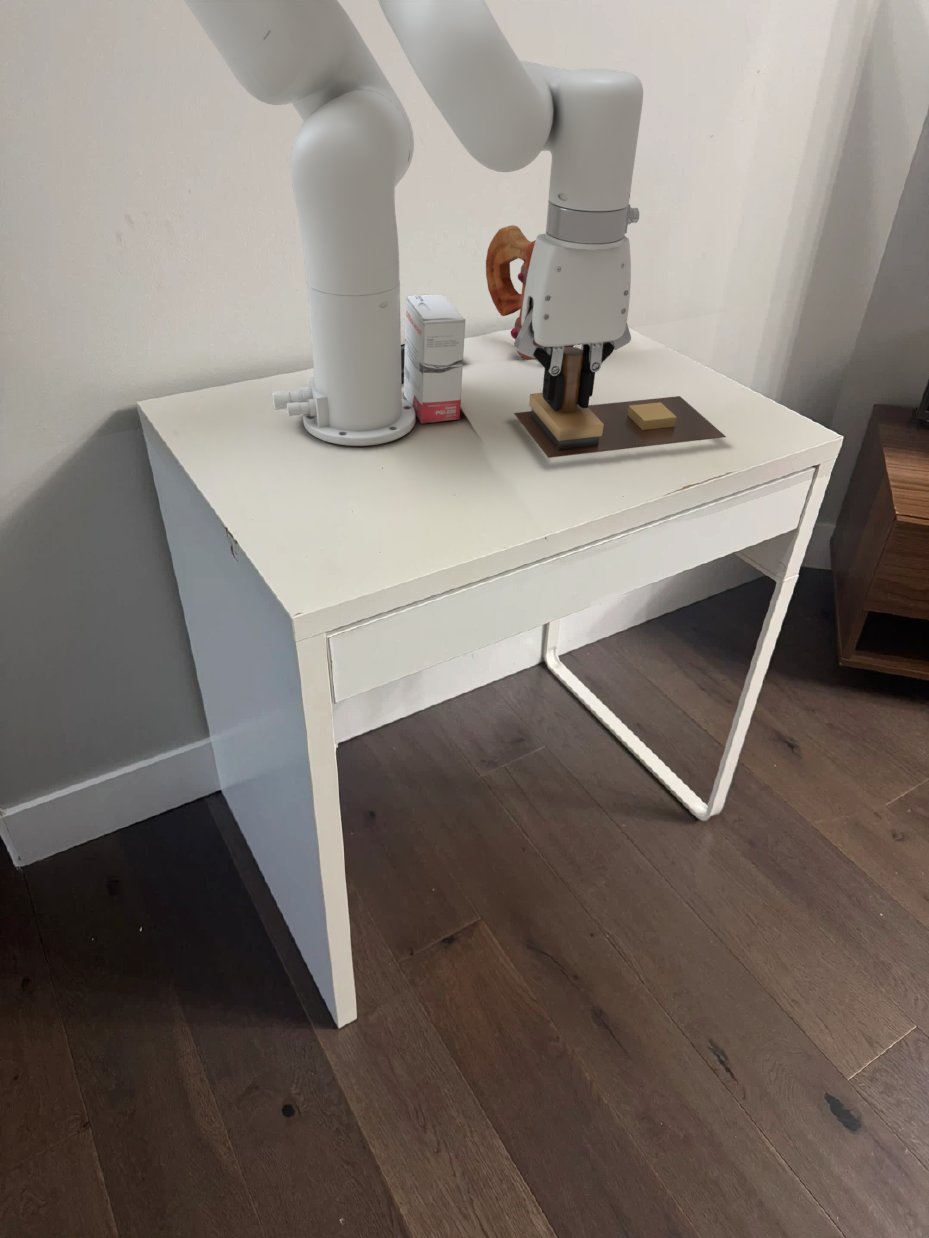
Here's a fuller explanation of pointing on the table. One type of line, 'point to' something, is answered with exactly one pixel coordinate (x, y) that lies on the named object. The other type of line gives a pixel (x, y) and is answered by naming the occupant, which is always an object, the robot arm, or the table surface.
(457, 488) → the table surface
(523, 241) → the mug
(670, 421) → the tan rectangular block
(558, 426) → the wooden rubber stamp
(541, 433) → the board
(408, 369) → the ink box
